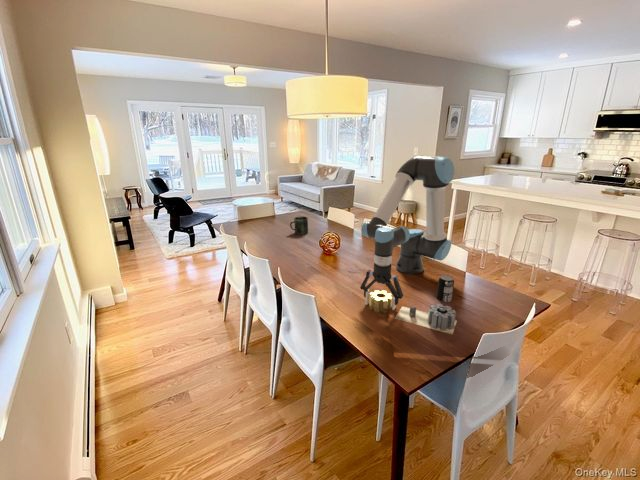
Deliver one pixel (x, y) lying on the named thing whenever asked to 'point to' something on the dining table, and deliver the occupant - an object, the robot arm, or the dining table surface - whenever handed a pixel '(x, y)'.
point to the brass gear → (380, 301)
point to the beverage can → (445, 288)
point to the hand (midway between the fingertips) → (380, 306)
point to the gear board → (418, 318)
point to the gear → (441, 317)
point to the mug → (300, 225)
